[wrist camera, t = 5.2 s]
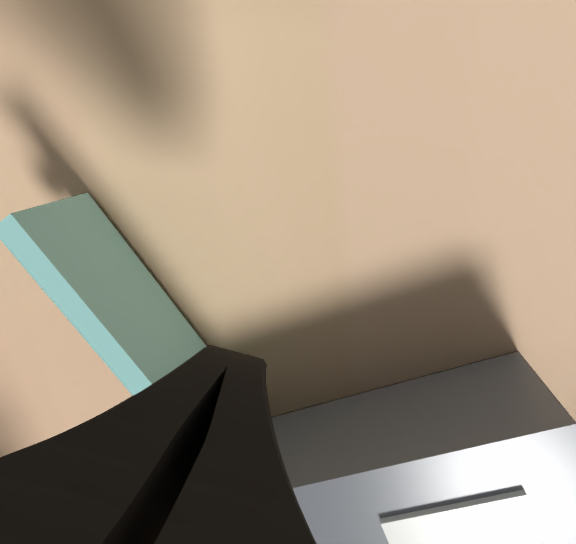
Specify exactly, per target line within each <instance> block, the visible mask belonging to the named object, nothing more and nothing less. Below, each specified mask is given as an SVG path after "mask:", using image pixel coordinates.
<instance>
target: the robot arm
mask: <svg viewBox="0 0 576 544" xmlns="http://www.w3.org/2000/svg"><path fill="white" fill-rule="evenodd" d="M266 366H267V365H266V363H265V361H264V360H263V359H261V358H257V357H253V356H249V355H245V354H241V353H238V352H234V351H230V350H226V349H222V348H219V347H215V346H211V345H209V346H207V347H205V348H203V349H202V350H200V351H199V352H198V353H196V354H195V355H194V356H192V357H191V358H190V359H188V360H187V361H185V362H184V363H183V364H181V365H180V366H178V367H177V368H175V369H174V370H173V371H171V372H170V373H168V374H167V375H165V376H164V377H162V378H161V379H159V380H158V381H156V382H154V383H153V384H151V385H150V386H148V387H147V388H145V389H144V390H142V391H140V392H139V393H137V394H135V395H133V396H132V397H130V398H128V399H127V400H125V401H123V402H121V403H120V404H118V405H116V406H114V407H113V408H111V409H109V410H107V411H105V412H104V413H102V414H100V415H98V416H96V417H94V418H92V419H90V420H88V421H86V422H84V423H82V424H80V425H78V426H76V427H74V428H72V429H69V430H67V431H65V432H63V433H61V434H59V435H56V436H54V437H52V438H49V439H47V440H44V441H42V442H39V443H37V444H34V445H32V446H29V447H26V448H24V449H21V450H19V451H16V452H13V453H11V454H8V455H6V456H3V457H1V458H0V544H317V543H316V541H315V539H314V537H313V535H312V533H311V531H310V528H309V526H308V524H307V522H306V519H305V517H304V515H303V513H302V510H301V508H300V506H299V503H298V501H297V498H296V496H295V493H294V491H293V488H292V486H291V483H290V480H289V477H288V475H287V472H286V469H285V466H284V463H283V460H282V456H281V453H280V450H279V446H278V443H277V439H276V435H275V431H274V427H273V423H272V418H271V413H270V409H269V403H268V397H267V388H266Z"/></svg>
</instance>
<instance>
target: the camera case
mask: <svg viewBox="0 0 576 544" xmlns="http://www.w3.org/2000/svg"><path fill="white" fill-rule="evenodd" d="M271 418H272V423H273V427H274V431H275V435H276V439H277V443H278V446H279V450H280V453H281V456H282V460H283V463H284V466H285V469H286V472H287V475H288V477H289V480H290V483H291V486H292V488H293V491H294V493H295V496H296V498H297V501H298V503H299V506H300V508H301V510H302V513H303V515H304V517H305V519H306V522H307V524H308V526H309V528H310V531H311V533H312V535H313V537H314V539H315V541H316V543H317V544H576V422H575V421H574V419H573V418H572V417H571V416H570V415H569V413H568V412H567V411H566V410H565V408H564V407H563V406H562V405H561V403H560V402H559V401H558V400H557V398H556V397H555V396H554V395H553V393H552V392H551V391H550V390H549V388H548V387H547V386H546V385H545V384H544V382H543V381H542V380H541V379H540V377H539V376H538V375H537V374H536V372H535V371H534V370H533V369H532V367H531V366H530V365H529V364H528V362H527V361H526V360H525V359H524V358H523V356H522V355H521V354H520V353H519V351H517V352H514V353H510V354H506V355H502V356H499V357H495V358H491V359H488V360H484V361H480V362H476V363H473V364H469V365H465V366H461V367H458V368H454V369H450V370H446V371H443V372H439V373H435V374H432V375H428V376H424V377H420V378H417V379H413V380H409V381H405V382H402V383H398V384H394V385H391V386H387V387H383V388H379V389H376V390H372V391H368V392H364V393H361V394H357V395H353V396H350V397H346V398H342V399H338V400H335V401H331V402H327V403H323V404H320V405H316V406H312V407H309V408H305V409H301V410H297V411H294V412H290V413H286V414H282V415H279V416H275V417H271Z"/></svg>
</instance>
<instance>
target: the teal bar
mask: <svg viewBox="0 0 576 544" xmlns="http://www.w3.org/2000/svg"><path fill="white" fill-rule="evenodd" d="M0 240H1V241H2V242H3V243H4V245H5V246H6V247H7V248H8V249H9V250H10V252H11V253H12V254H13V255H14V256H15V258H16V259H17V260H18V261H19V262H20V263H21V265H22V266H23V267H24V268H25V269H26V270H27V272H28V273H29V274H30V275H31V276H32V278H33V279H34V280H35V281H36V282H37V283H38V285H39V286H40V287H41V288H42V289H43V290H44V292H45V293H46V294H47V295H48V296H49V298H50V299H51V300H52V301H53V302H54V303H55V305H56V306H57V307H58V308H59V309H60V310H61V312H62V313H63V314H64V315H65V316H66V318H67V319H68V320H69V321H70V322H71V323H72V325H73V326H74V327H75V328H76V329H77V331H78V332H79V333H80V334H81V335H82V336H83V338H84V339H85V340H86V341H87V342H88V343H89V345H90V346H91V347H92V348H93V349H94V351H95V352H96V353H97V354H98V355H99V356H100V358H101V359H102V360H103V361H104V362H105V363H106V365H107V366H108V367H109V368H110V369H111V371H112V372H113V373H114V374H115V375H116V376H117V378H118V379H119V380H120V381H121V382H122V383H123V385H124V386H125V387H126V388H127V389H128V391H129V392H130V393H131V394H132V395H135V394H137V393H139V392H140V391H142V390H144V389H145V388H147V387H148V386H150V385H151V384H153V383H154V382H156V381H158V380H159V379H161V378H162V377H164V376H165V375H167V374H168V373H170V372H171V371H173V370H174V369H175V368H177V367H178V366H180V365H181V364H183V363H184V362H185V361H187V360H188V359H190V358H191V357H192V356H194V355H195V354H196V353H198V352H199V351H200V350H202V349H203V348H205V347H207V346H206V345H205V344H204V342H203V341H202V340H201V339H200V337H199V336H198V335H197V333H196V332H195V331H194V329H193V328H192V327H191V326H190V324H189V323H188V322H187V320H186V319H185V318H184V317H183V315H182V314H181V313H180V311H179V310H178V309H177V307H176V306H175V305H174V304H173V302H172V301H171V300H170V298H169V297H168V296H167V295H166V293H165V292H164V291H163V289H162V288H161V287H160V285H159V284H158V283H157V282H156V280H155V279H154V278H153V276H152V275H151V274H150V273H149V271H148V270H147V269H146V267H145V266H144V265H143V263H142V262H141V261H140V260H139V258H138V257H137V256H136V254H135V253H134V252H133V251H132V249H131V248H130V247H129V245H128V244H127V243H126V241H125V240H124V239H123V238H122V236H121V235H120V234H119V232H118V231H117V230H116V229H115V227H114V226H113V225H112V223H111V222H110V221H109V219H108V218H107V217H106V216H105V214H104V213H103V212H102V210H101V209H100V208H99V207H98V205H97V204H96V203H95V201H94V200H93V199H92V197H91V196H90V195H89V194H88V193H84V194H80V195H77V196H73V197H70V198H66V199H62V200H59V201H55V202H51V203H48V204H44V205H40V206H37V207H33V208H29V209H26V210H22V211H19V212H15V213H11V214H10V215H8V216H7V217H6V218H5V219H3V220H2V221H1V222H0Z"/></svg>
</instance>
